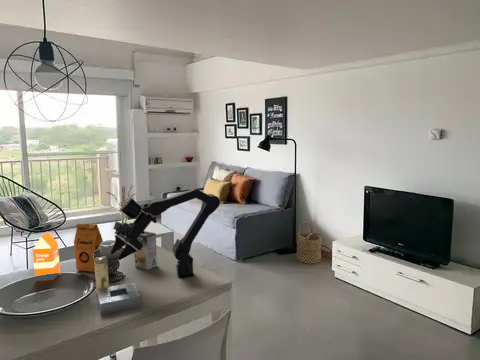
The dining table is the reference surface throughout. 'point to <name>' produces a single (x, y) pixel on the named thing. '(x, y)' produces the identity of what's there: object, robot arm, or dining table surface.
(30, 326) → the dining table surface
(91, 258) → the coffee package
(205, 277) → the dining table surface
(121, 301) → the bore housing
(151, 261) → the coffee box
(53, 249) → the orange juice
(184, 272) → the robot arm
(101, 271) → the brass plug
